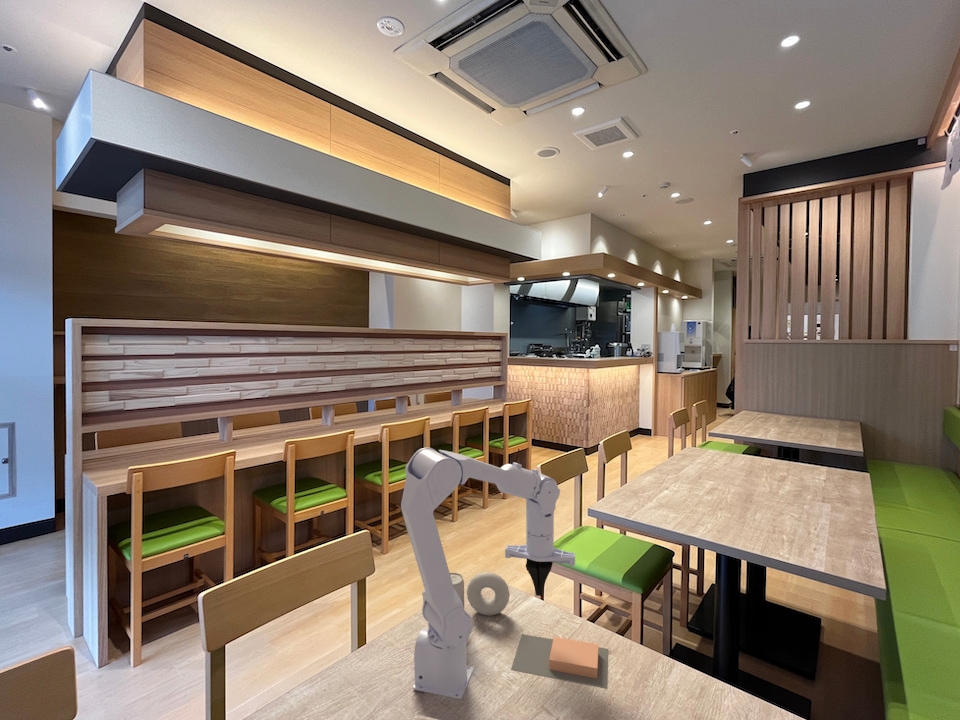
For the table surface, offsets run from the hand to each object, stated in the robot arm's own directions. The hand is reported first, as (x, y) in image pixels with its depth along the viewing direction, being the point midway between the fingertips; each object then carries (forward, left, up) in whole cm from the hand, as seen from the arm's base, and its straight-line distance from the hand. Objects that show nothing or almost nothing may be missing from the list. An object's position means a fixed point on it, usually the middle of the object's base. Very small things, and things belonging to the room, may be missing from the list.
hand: (539, 593), depth 99 cm
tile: (+3, -5, -9) cm, 11 cm away
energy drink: (-19, -2, -11) cm, 22 cm away
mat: (+5, -5, -10) cm, 13 cm away
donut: (-13, +6, -11) cm, 18 cm away
